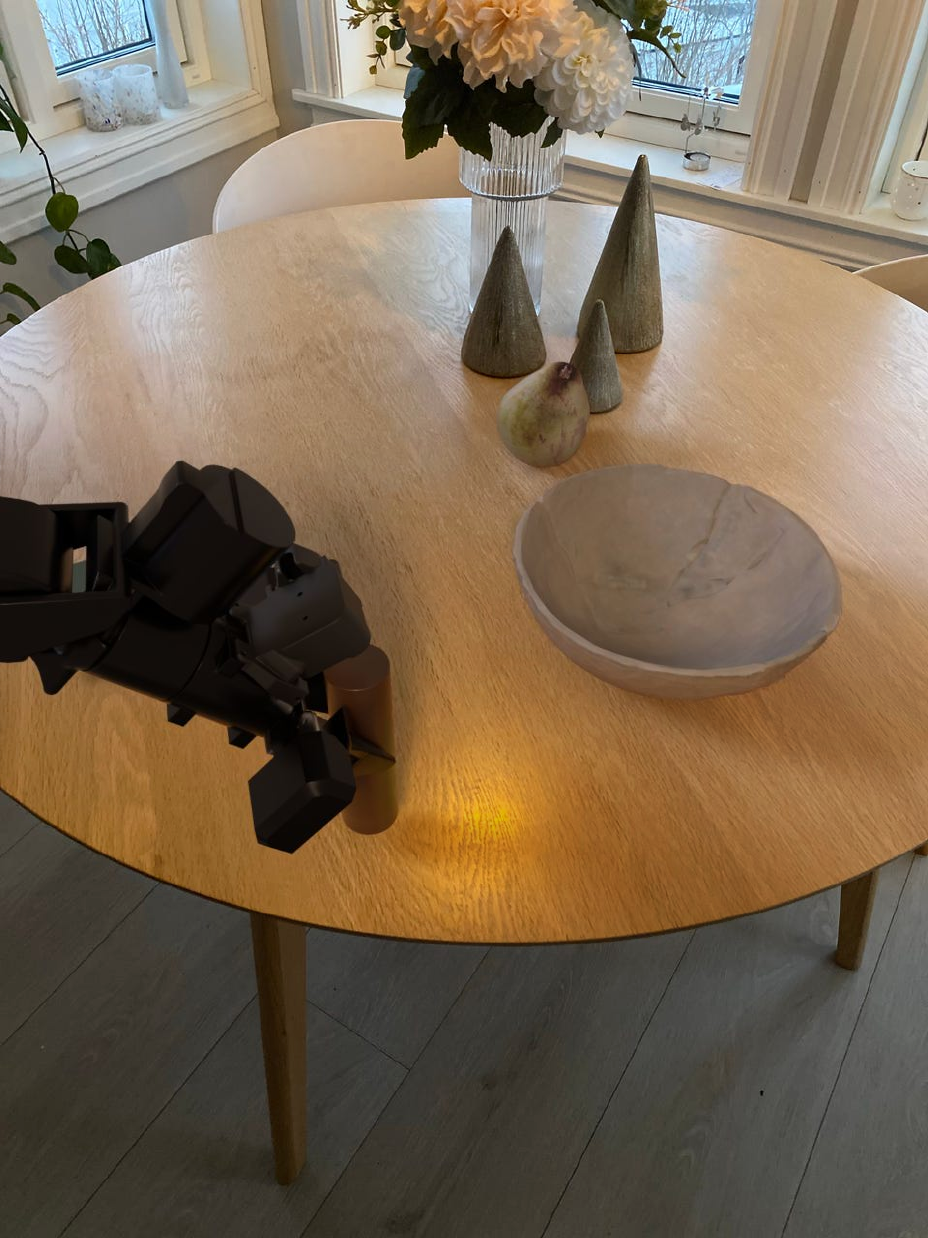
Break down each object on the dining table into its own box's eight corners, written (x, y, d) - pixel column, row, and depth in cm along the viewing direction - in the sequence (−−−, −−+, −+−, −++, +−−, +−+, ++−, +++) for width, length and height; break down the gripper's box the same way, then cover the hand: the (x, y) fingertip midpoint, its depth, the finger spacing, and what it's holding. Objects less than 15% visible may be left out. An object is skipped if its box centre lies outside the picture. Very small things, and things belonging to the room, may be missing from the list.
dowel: (355, 844, 66) (338, 699, 55) (332, 801, 68) (312, 655, 58) (408, 821, 67) (401, 675, 57) (384, 780, 70) (372, 633, 59)
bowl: (631, 510, 97) (644, 425, 90) (870, 644, 84) (908, 557, 77) (443, 636, 84) (442, 548, 77) (691, 821, 70) (717, 734, 63)
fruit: (561, 492, 99) (571, 389, 91) (479, 467, 102) (482, 365, 94) (597, 443, 106) (610, 343, 97) (520, 421, 109) (526, 322, 101)
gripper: (295, 685, 44) (514, 781, 53) (250, 457, 57) (433, 569, 66) (154, 821, 47) (382, 888, 57) (142, 580, 60) (330, 667, 70)
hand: (384, 739), depth 63 cm, fingers closed on dowel, 4 cm apart
